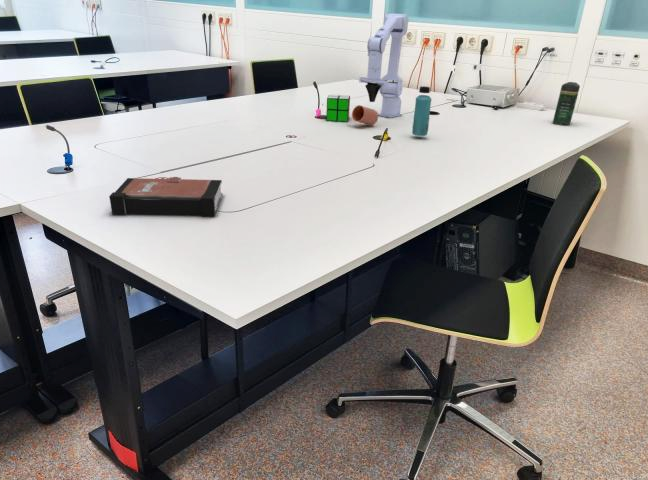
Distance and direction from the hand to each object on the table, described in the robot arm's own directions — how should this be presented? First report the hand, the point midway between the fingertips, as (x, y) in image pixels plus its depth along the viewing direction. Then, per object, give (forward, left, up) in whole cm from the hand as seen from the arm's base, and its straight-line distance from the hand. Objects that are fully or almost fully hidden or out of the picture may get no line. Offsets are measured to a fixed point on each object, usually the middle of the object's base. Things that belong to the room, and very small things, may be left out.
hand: (372, 101), depth 238 cm
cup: (-1, 0, -7) cm, 7 cm away
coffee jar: (-77, +56, -10) cm, 96 cm away
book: (+123, +28, -10) cm, 126 cm away
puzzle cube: (+2, -18, -10) cm, 21 cm away
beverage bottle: (+3, +28, -10) cm, 30 cm away
